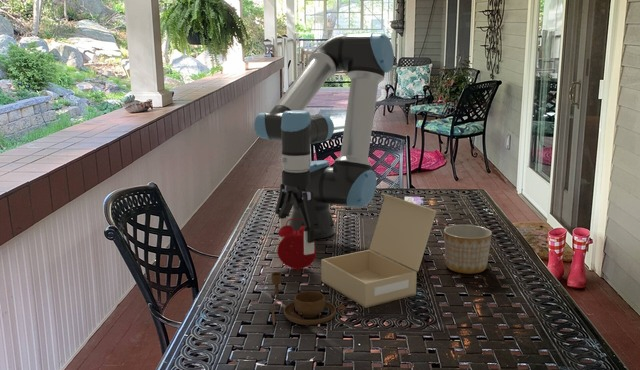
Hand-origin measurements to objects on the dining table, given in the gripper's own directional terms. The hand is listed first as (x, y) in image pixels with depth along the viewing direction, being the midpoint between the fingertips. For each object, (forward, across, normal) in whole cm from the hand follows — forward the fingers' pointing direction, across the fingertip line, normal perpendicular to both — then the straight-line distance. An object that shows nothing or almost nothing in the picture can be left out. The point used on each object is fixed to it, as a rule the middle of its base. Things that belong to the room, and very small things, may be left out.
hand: (296, 247), depth 173 cm
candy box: (+6, +8, +33) cm, 35 cm away
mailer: (+7, +21, +9) cm, 23 cm away
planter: (+6, +23, +40) cm, 47 cm away
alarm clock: (+7, 0, 0) cm, 7 cm away
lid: (0, +21, +16) cm, 26 cm away
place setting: (+8, +23, -10) cm, 26 cm away
